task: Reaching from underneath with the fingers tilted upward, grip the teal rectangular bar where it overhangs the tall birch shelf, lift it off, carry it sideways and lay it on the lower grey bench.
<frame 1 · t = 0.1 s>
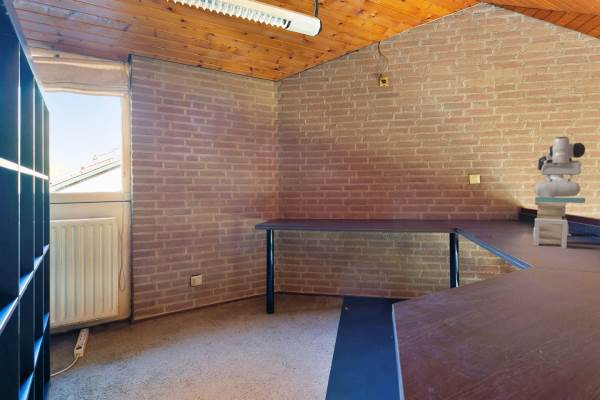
hand: (559, 181, 206), 39 cm above the table, tool pointing down, fingers open, 8 cm apart
teal rectangular bar: (558, 202, 196), point 26 cm above the table, touching birch shelf
medicine bottle: (542, 238, 214), on the table
grey bench: (549, 245, 189), on the table
birch shelf: (548, 242, 200), on the table
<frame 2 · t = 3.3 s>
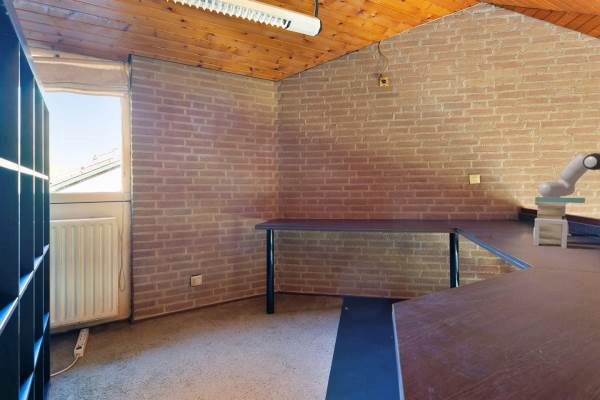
nothing on the table moved.
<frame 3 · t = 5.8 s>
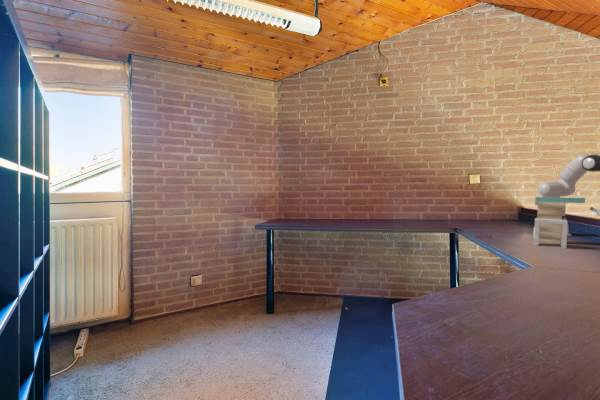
hand: (591, 208, 187), 23 cm above the table, tool pointing upward, fingers open, 8 cm apart
nothing on the table moved.
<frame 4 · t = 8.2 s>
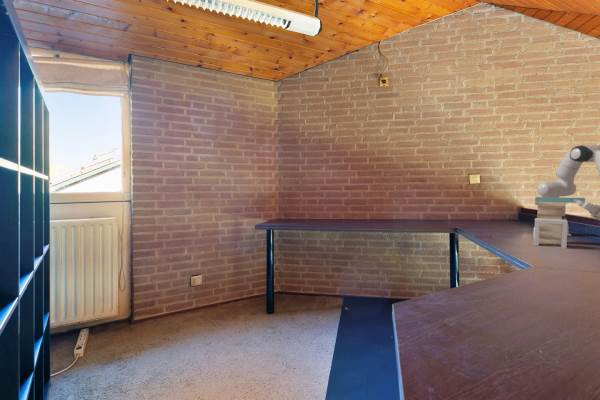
hand: (573, 199, 192), 28 cm above the table, tool pointing upward, fingers closed on teal rectangular bar, 3 cm apart
teal rectangular bar: (558, 202, 196), point 26 cm above the table, touching birch shelf, gripper
everything else where it was.
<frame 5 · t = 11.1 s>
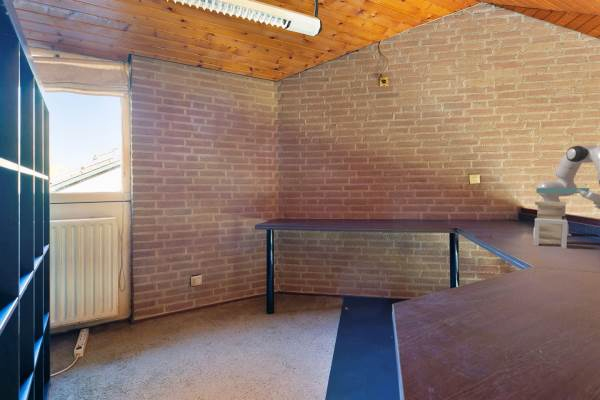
hand: (576, 189, 182), 34 cm above the table, tool pointing upward, fingers closed on teal rectangular bar, 3 cm apart
teal rectangular bar: (561, 193, 186), point 32 cm above the table, touching gripper
everything else where it was.
when the fingers open (19 cm above the table, at t = 13.9 s): teal rectangular bar drops 2 cm, resting on grey bench.
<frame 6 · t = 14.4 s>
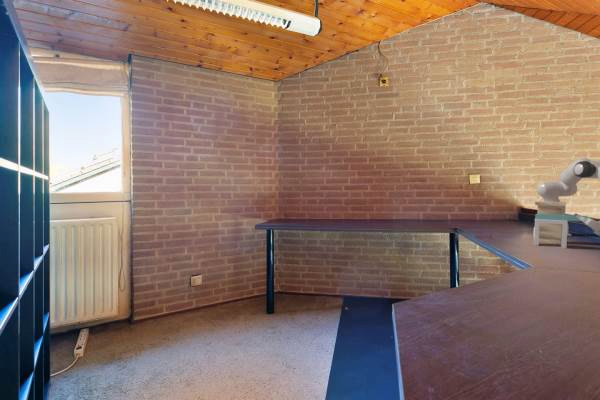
hand: (575, 215, 182), 19 cm above the table, tool pointing upward, fingers open, 8 cm apart
teal rectangular bar: (560, 220, 186), point 16 cm above the table, touching grey bench
everything else where it was.
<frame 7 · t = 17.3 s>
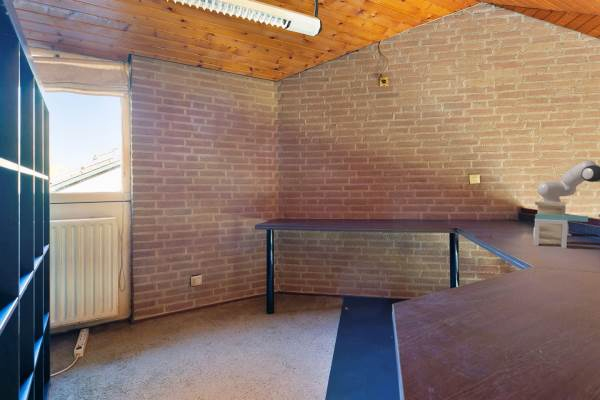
hand: (599, 216, 176), 19 cm above the table, tool pointing upward, fingers open, 8 cm apart
nothing on the table moved.
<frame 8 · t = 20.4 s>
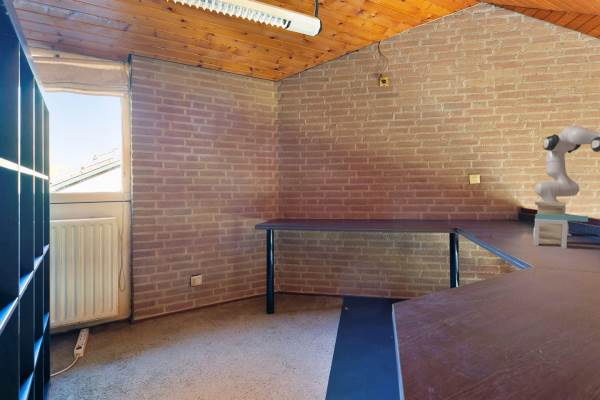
nothing on the table moved.
at the end: teal rectangular bar inside the target area on the grey bench (0.1 cm from its centre), point 16.0 cm above the grey bench's base; teal rectangular bar touching grey bench; the gripper is holding nothing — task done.
